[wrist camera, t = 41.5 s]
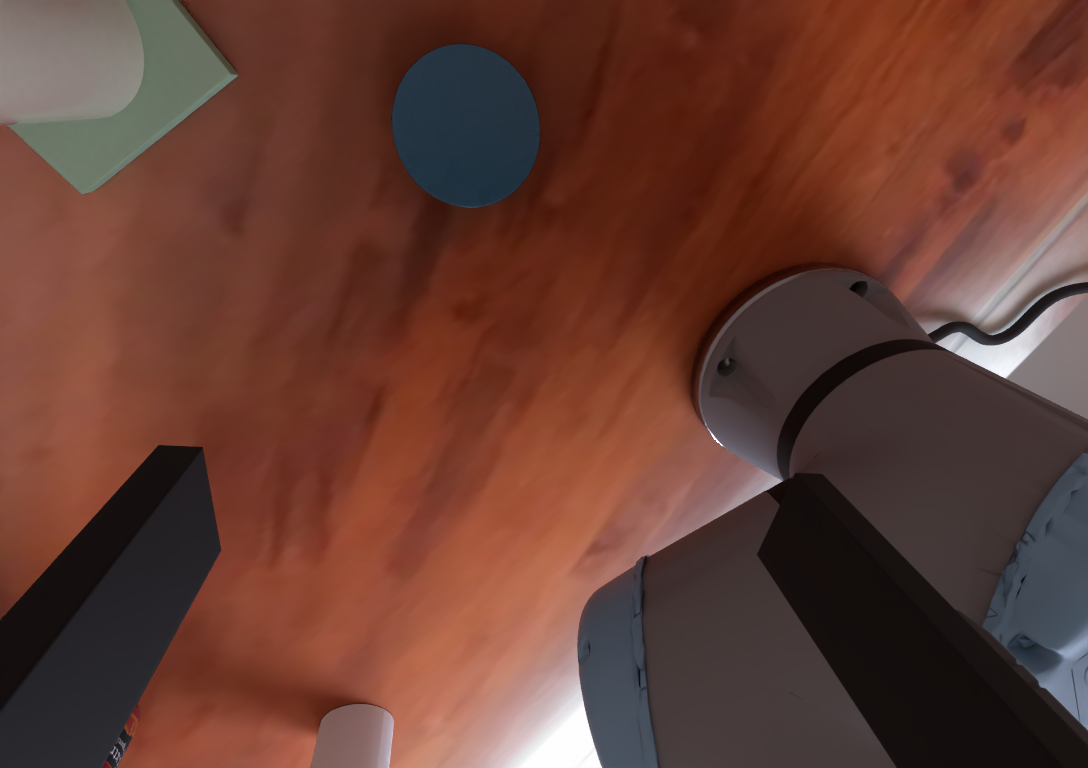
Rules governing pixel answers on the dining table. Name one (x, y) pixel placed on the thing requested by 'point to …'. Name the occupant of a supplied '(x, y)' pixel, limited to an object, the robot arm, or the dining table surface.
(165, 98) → the sticky note pad
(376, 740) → the cylindrical container
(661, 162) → the dining table surface
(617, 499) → the dining table surface
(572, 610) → the dining table surface
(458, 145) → the jar lid
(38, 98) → the jam jar
